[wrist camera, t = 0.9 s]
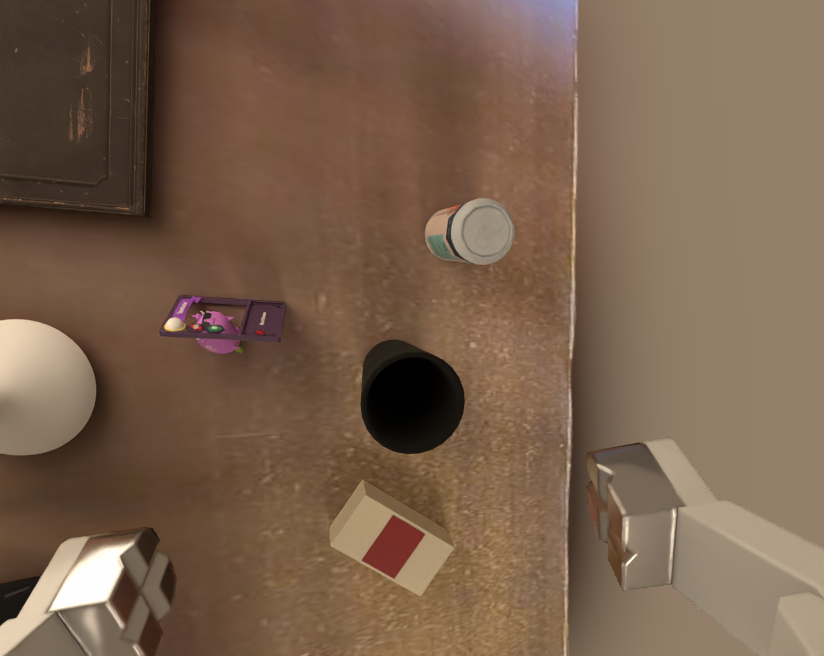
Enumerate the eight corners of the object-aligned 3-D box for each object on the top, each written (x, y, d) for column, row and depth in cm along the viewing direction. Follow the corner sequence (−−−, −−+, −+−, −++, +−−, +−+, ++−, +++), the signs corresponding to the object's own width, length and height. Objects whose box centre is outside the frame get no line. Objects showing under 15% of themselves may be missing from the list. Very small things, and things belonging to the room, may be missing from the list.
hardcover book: (158, -77, 46) (150, -94, 43) (150, 217, 49) (142, 216, 46) (-69, -116, 43) (-91, -136, 41) (-63, 198, 46) (-83, 196, 44)
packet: (446, 529, 57) (455, 548, 53) (414, 575, 57) (420, 597, 53) (362, 478, 55) (365, 495, 51) (329, 526, 55) (330, 546, 51)
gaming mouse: (128, 615, 53) (113, 644, 49) (-44, 661, 51) (-74, 696, 47) (109, 553, 52) (92, 578, 48) (-68, 598, 50) (-100, 628, 46)
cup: (448, 377, 55) (484, 414, 43) (382, 425, 54) (400, 474, 43) (403, 312, 53) (427, 331, 41) (334, 360, 53) (339, 393, 41)
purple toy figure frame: (280, 329, 45) (158, 322, 43) (278, 386, 47) (162, 381, 46) (286, 294, 51) (178, 287, 49) (284, 346, 53) (181, 340, 52)
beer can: (483, 222, 53) (530, 215, 41) (461, 269, 53) (501, 276, 42) (437, 199, 52) (471, 185, 40) (415, 247, 52) (443, 247, 41)
